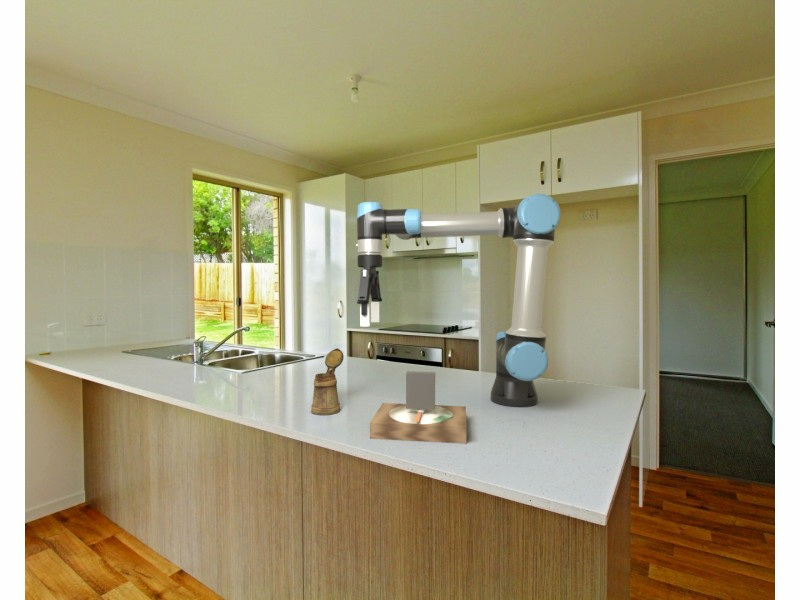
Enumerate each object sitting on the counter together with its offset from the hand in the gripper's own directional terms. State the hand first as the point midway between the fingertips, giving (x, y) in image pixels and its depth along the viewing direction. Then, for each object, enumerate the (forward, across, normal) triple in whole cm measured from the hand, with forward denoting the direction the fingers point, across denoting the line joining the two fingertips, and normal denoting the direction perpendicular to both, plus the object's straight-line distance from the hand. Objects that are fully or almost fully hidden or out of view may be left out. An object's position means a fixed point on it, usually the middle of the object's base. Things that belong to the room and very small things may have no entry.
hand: (370, 324), depth 133 cm
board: (+26, +15, +17) cm, 35 cm away
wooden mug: (+27, +1, -13) cm, 30 cm away
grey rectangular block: (+22, +19, +17) cm, 34 cm away
